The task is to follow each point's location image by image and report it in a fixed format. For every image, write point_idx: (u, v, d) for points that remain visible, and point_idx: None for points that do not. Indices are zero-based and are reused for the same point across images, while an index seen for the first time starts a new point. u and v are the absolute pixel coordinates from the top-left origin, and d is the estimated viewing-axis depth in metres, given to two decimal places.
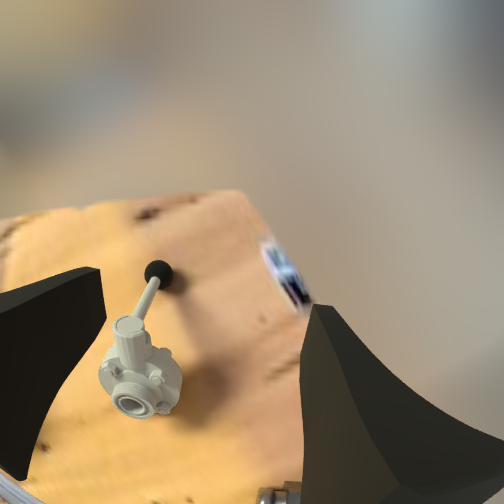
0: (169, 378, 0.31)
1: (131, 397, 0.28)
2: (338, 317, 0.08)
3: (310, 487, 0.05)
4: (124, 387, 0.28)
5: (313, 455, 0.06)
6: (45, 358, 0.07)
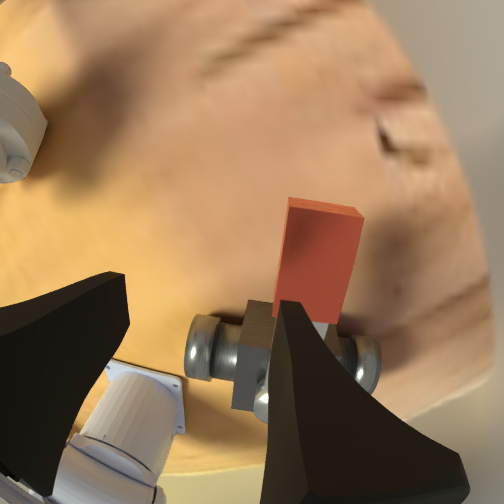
0: None
1: None
2: (302, 313, 0.08)
3: (266, 484, 0.05)
4: None
5: (270, 452, 0.06)
6: (71, 369, 0.06)
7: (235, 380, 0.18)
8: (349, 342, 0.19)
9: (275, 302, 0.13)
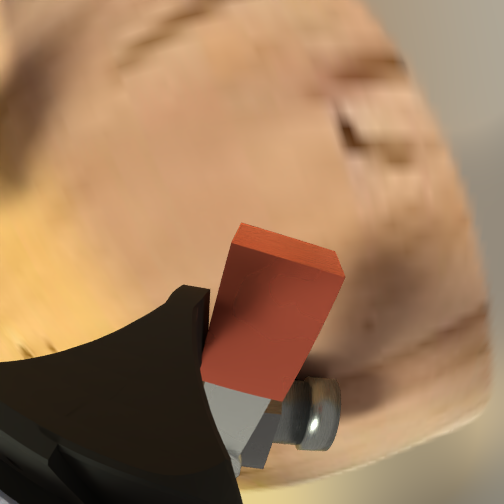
0: None
1: None
2: (191, 296, 0.08)
3: None
4: None
5: None
6: None
7: None
8: (302, 389, 0.15)
9: (201, 364, 0.09)
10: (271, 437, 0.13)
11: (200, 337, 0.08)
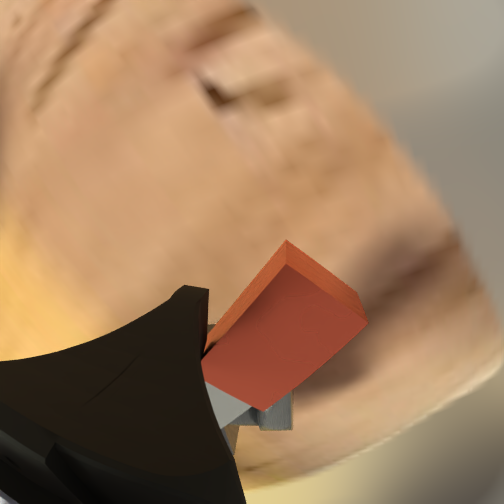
0: None
1: None
2: (192, 297, 0.08)
3: None
4: None
5: None
6: None
7: None
8: None
9: (202, 361, 0.09)
10: None
11: (201, 337, 0.08)
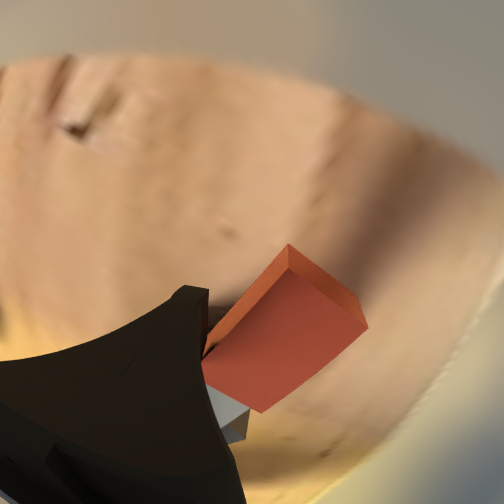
0: None
1: None
2: (193, 297, 0.08)
3: None
4: None
5: None
6: None
7: None
8: None
9: (202, 363, 0.09)
10: None
11: (201, 337, 0.08)
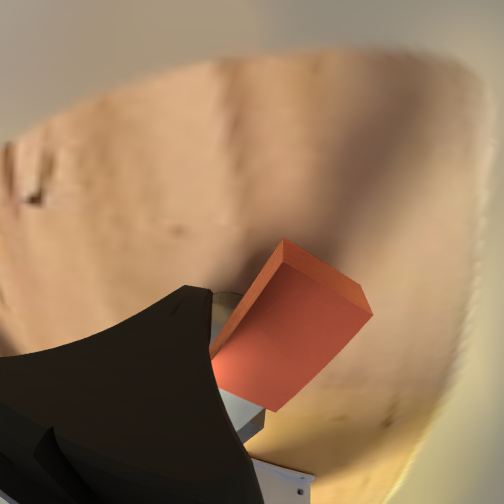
0: None
1: None
2: (200, 298, 0.08)
3: None
4: None
5: None
6: None
7: None
8: None
9: None
10: None
11: None
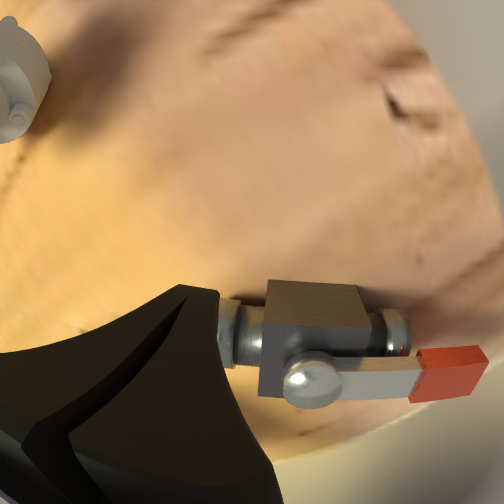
0: None
1: None
2: (208, 299, 0.08)
3: None
4: None
5: None
6: None
7: (261, 363, 0.17)
8: (377, 316, 0.18)
9: (438, 368, 0.14)
10: (361, 356, 0.16)
11: None
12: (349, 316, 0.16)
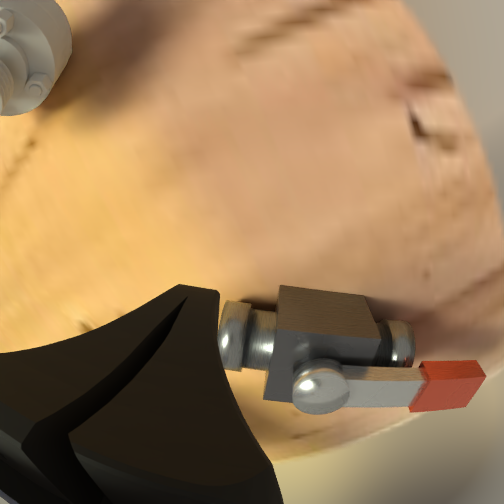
0: (18, 16, 0.08)
1: None
2: (208, 299, 0.08)
3: None
4: None
5: None
6: None
7: (270, 368, 0.17)
8: (383, 327, 0.18)
9: (440, 380, 0.14)
10: (368, 365, 0.16)
11: None
12: (359, 326, 0.16)
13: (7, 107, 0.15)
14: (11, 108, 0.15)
